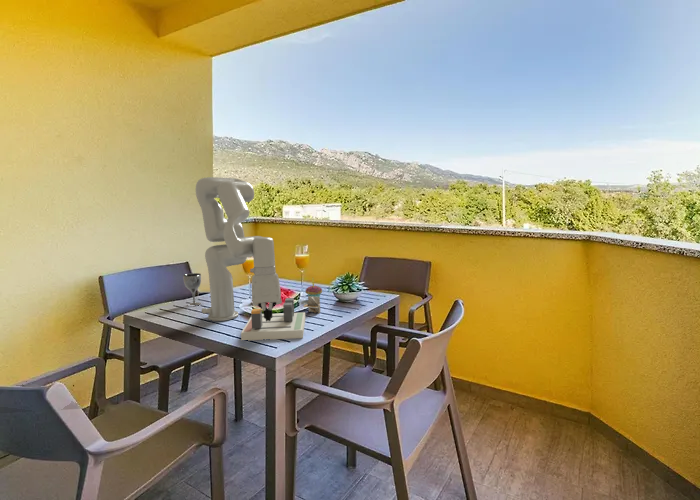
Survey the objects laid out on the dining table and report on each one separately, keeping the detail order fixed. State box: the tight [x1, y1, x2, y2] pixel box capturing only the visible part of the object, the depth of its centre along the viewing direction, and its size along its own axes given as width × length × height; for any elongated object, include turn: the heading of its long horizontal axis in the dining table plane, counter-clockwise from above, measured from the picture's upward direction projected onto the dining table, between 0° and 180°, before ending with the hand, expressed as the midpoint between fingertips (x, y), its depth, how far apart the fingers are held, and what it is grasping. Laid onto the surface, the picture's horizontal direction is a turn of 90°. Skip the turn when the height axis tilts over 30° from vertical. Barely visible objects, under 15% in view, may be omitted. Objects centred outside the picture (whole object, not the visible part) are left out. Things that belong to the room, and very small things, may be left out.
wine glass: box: [182, 272, 202, 306], centre depth 183 cm, size 8×8×15 cm
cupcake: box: [305, 278, 323, 298], centre depth 188 cm, size 9×8×12 cm
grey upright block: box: [250, 308, 263, 329], centre depth 137 cm, size 3×4×7 cm
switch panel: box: [240, 297, 306, 342], centre depth 145 cm, size 22×22×10 cm
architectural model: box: [302, 295, 321, 314], centre depth 166 cm, size 3×7×7 cm, turn 74°
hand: (268, 319), depth 138 cm, fingers closed
